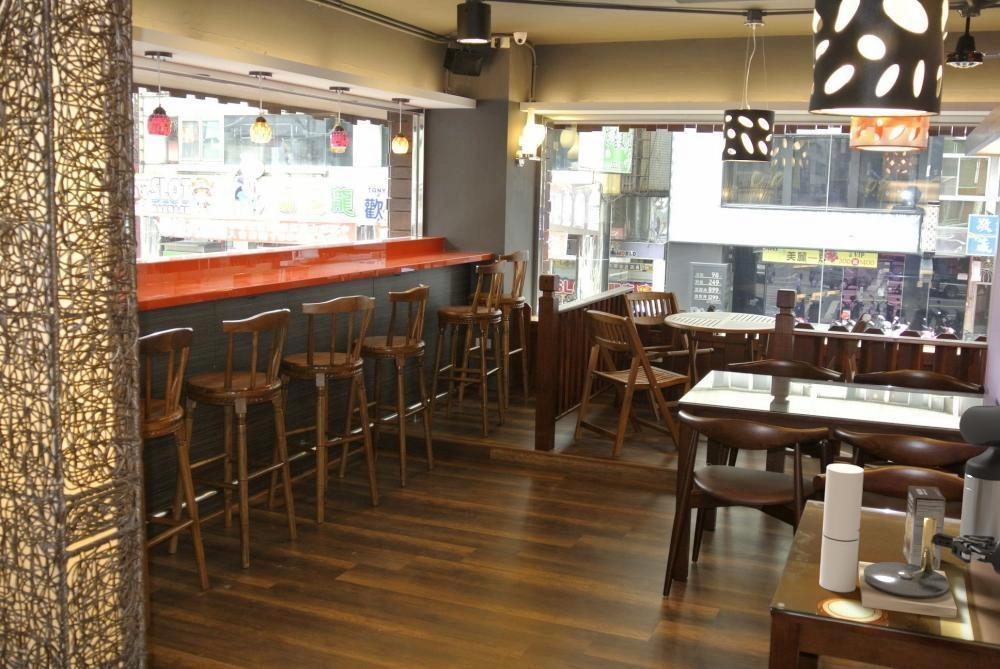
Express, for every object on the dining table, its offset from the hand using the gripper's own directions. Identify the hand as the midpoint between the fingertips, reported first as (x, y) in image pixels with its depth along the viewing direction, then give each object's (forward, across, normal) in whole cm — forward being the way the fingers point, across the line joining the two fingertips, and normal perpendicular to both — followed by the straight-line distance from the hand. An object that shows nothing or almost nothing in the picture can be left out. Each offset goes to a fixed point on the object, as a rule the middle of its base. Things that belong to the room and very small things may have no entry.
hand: (936, 538), depth 207 cm
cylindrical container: (+14, +14, +10) cm, 22 cm away
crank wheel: (+2, +7, +8) cm, 11 cm away
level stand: (+2, +8, +10) cm, 13 cm away
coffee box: (+8, -12, +11) cm, 18 cm away
